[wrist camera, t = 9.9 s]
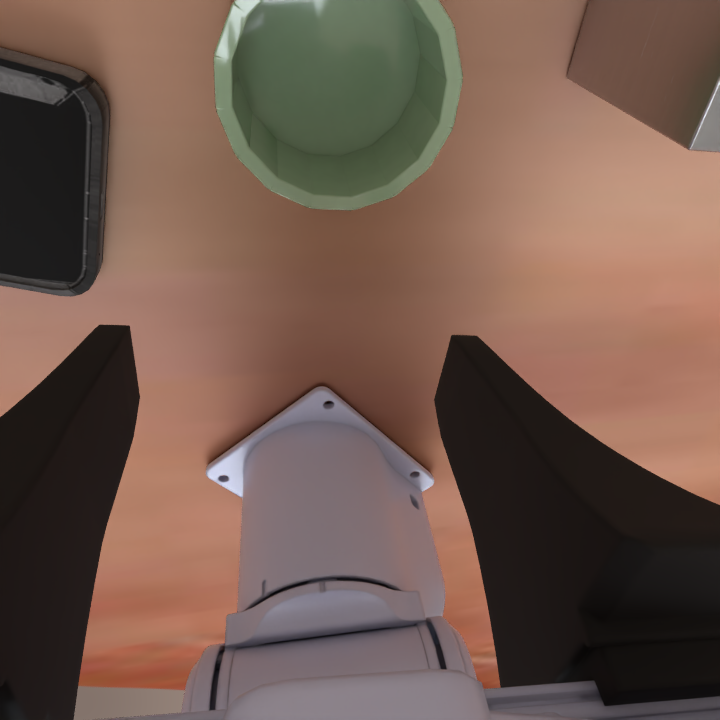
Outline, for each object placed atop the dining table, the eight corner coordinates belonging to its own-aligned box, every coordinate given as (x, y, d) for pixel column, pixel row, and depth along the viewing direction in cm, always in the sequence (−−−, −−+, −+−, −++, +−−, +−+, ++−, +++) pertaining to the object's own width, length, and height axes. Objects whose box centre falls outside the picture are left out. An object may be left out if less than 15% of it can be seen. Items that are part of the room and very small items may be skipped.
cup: (463, 71, 20) (505, 107, 16) (318, 194, 22) (327, 251, 18) (339, -124, 16) (359, -131, 13) (180, 44, 18) (159, 78, 15)
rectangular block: (666, -64, 18) (860, -48, 12) (616, 83, 21) (757, 156, 15) (608, -72, 18) (779, -59, 12) (565, 78, 20) (687, 151, 14)
